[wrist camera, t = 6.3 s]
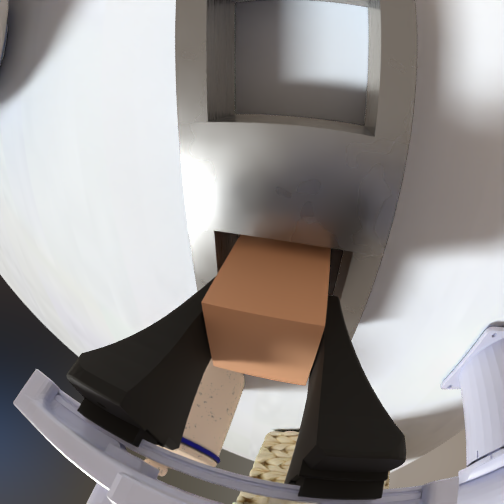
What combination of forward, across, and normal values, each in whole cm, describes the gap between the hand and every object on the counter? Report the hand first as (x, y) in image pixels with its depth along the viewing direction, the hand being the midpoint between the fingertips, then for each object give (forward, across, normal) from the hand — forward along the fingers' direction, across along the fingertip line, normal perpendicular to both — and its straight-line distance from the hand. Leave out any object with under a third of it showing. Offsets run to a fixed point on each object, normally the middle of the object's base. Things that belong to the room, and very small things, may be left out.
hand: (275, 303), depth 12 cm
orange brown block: (+3, 0, 0) cm, 3 cm away
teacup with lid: (+4, +8, +15) cm, 17 cm away
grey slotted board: (+4, 0, -5) cm, 6 cm away
